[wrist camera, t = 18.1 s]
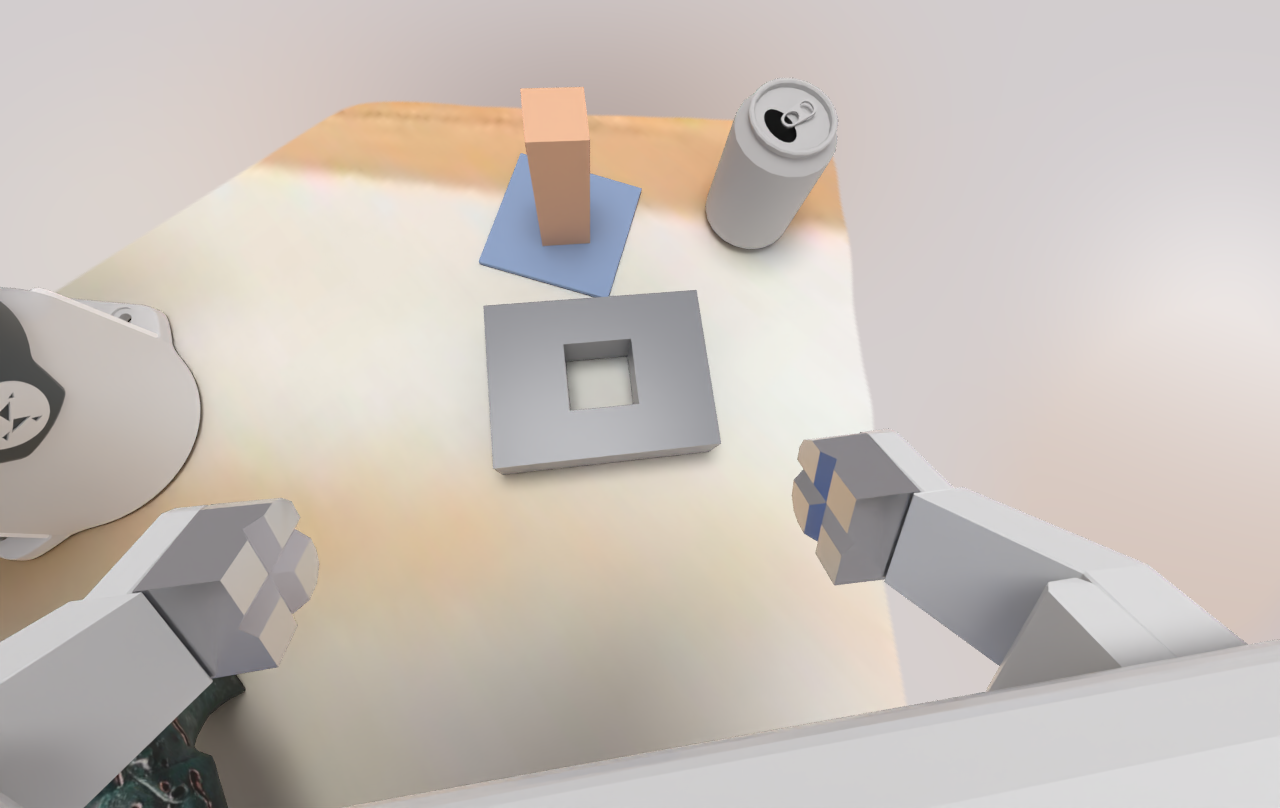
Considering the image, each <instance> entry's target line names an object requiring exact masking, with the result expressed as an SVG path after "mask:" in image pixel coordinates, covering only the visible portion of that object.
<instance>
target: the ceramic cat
mask: <svg viewBox="0 0 1280 808" xmlns="http://www.w3.org/2000/svg"><path fill="white" fill-rule="evenodd" d="M212 680H213V682H212V683H211V684H210V685H209V686H208V687H207V688H206V689H205V690H204V691H203V692H202V693H201V694H200V695H199V696H198V697H197V698H196V699H195V700H194V701H193V702H192V703H191V704H190V705H189V706H187V707H186V708H185V709H184V710H183V711H182V712H181V713H180V714H179V715H178V716H177V717H176V718H175V719H174V720H173V721H172V722H171V723H170V724H169V725H168V726H167V727H166V728H165V729H164V730H163V731H162V732H161V733H160V734H159V735H158V736H157V737H156V738H155V739H154V740H153V741H152V742H151V743H150V744H149V745H147V746H146V747H145V748H144V749H143V750H142V751H141V752H140V753H139V754H138V755H137V756H136V757H135V758H134V759H133V760H132V761H131V762H130V763H129V764H128V765H127V766H126V767H125V768H124V769H123V770H122V771H121V772H120V773H119V774H118V775H117V776H116V777H115V778H114V779H113V780H112V781H111V782H110V783H109V784H108V785H106V786H105V787H104V788H103V789H102V790H101V791H100V792H99V793H98V794H97V795H96V796H95V797H94V798H93V799H92V800H91V801H90V802H89V803H88V804H87V805H86V806H85V807H84V808H228V806H227V803H226V799H225V796H224V793H223V789H222V786H221V783H220V780H219V776H218V772H217V768H216V765H215V762H214V760H213V757H212V756H211V755H208V754H205V753H202V752H199V751H198V750H197V749H196V748H195V747H194V745H195V741H196V738H197V735H198V734H199V732H200V730H201V728H202V726H203V724H204V723H205V721H206V719H207V718H208V716H209V715H210V714H211V713H212V712H213V711H214V710H216V709H217V708H218V707H219V706H220V705H222V704H223V703H225V702H226V701H228V700H229V699H231V698H233V697H235V696H237V695H239V694H241V693H242V692H243V691H245V689H244V687H243V685H242V683H241V682H240V680H239V679H238V678H237V677H236V675H230V676H224V677H218V678H213V679H212Z"/></svg>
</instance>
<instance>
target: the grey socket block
mask: <svg viewBox="0 0 1280 808" xmlns="http://www.w3.org/2000/svg"><path fill="white" fill-rule="evenodd" d="M484 322H485V339H486V355H487V372H488V389H489V406H490V422H491V439H492V456H493V469H495V470H496V471H498V472H499V473H501V474H503V475H505V474H514V473H523V472H532V471H541V470H549V469H558V468H567V467H576V466H585V465H594V464H603V463H612V462H621V461H630V460H639V459H648V458H656V457H665V456H674V455H683V454H692V453H701V452H709V451H710V450H712V449H713V448H715V447H716V446H718V445H719V444H721V440H720V434H719V428H718V421H717V415H716V409H715V403H714V396H713V390H712V384H711V378H710V372H709V365H708V359H707V353H706V347H705V340H704V334H703V328H702V322H701V316H700V309H699V303H698V297H697V291H696V290H690V291H676V292H663V293H649V294H636V295H622V296H609V297H595V298H582V299H568V300H555V301H541V302H528V303H514V304H501V305H487V306H484ZM624 356H627V357H628V365H629V373H630V381H631V390H632V398H633V404H632V405H622V406H612V407H602V408H592V409H582V410H572V411H570V400H569V390H568V379H567V369H566V362H567V361H579V360H590V359H601V358H613V357H624Z"/></svg>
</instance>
